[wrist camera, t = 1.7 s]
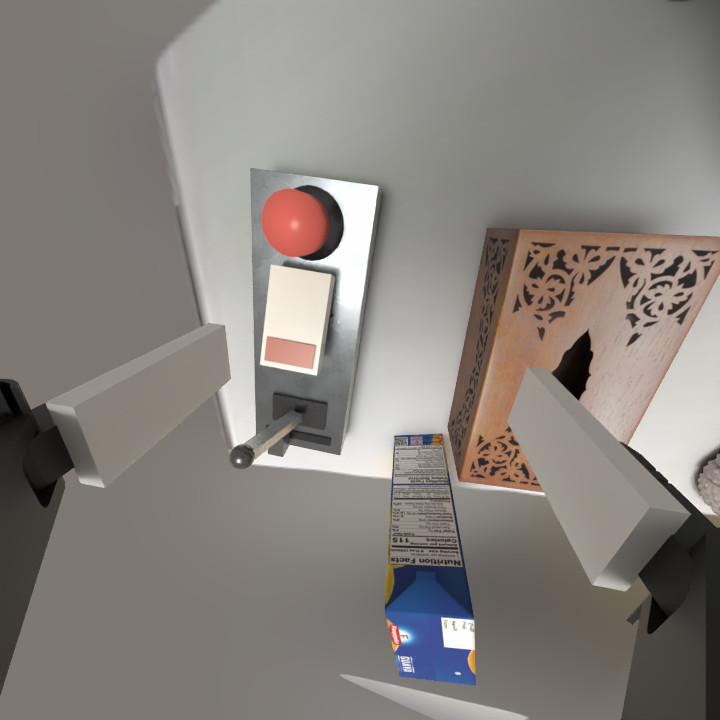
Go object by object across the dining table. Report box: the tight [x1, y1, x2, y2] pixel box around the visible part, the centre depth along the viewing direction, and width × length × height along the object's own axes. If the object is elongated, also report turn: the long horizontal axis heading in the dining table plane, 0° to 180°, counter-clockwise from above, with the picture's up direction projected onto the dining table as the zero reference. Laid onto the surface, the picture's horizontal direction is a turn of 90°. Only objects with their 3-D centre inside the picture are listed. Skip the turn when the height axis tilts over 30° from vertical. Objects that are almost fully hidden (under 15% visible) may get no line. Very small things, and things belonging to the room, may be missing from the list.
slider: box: [268, 432, 290, 457], centre depth 38 cm, size 3×2×2 cm, turn 172°
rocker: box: [260, 264, 335, 376], centre depth 30 cm, size 10×6×2 cm, turn 173°
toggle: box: [230, 410, 302, 469], centre depth 33 cm, size 2×2×10 cm
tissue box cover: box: [448, 229, 720, 492], centre depth 31 cm, size 26×14×10 cm, turn 178°
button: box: [261, 189, 330, 257], centre depth 25 cm, size 5×5×3 cm
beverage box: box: [385, 434, 476, 685], centre depth 35 cm, size 7×11×22 cm, turn 10°
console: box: [250, 168, 382, 455], centre depth 35 cm, size 32×12×6 cm, turn 172°
